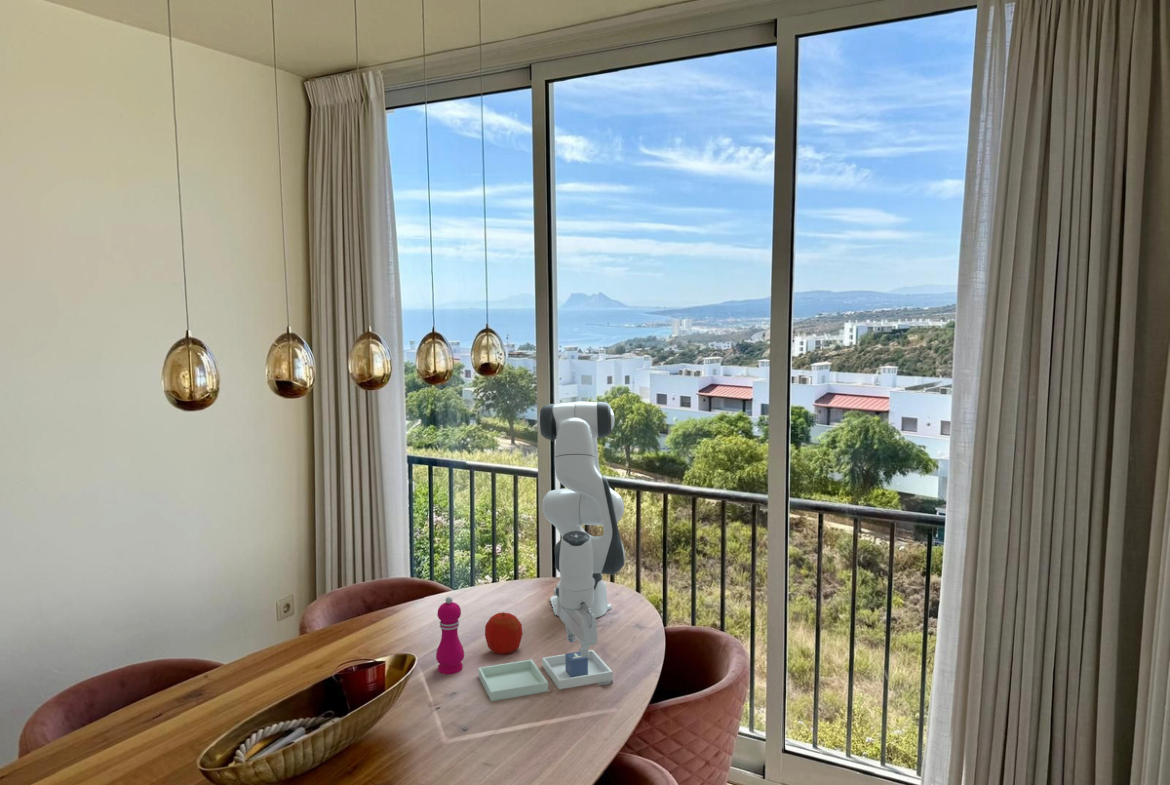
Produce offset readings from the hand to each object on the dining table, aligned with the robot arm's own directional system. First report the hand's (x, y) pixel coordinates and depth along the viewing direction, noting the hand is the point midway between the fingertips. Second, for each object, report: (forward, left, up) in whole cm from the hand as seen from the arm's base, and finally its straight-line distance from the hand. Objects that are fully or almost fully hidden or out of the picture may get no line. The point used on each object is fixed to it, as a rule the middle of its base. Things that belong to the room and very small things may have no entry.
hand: (577, 648), depth 200 cm
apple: (-20, -14, -7) cm, 26 cm away
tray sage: (+1, -17, -7) cm, 19 cm away
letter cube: (0, 0, -6) cm, 6 cm away
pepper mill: (-13, -30, -7) cm, 34 cm away
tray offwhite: (+1, 0, -7) cm, 7 cm away
